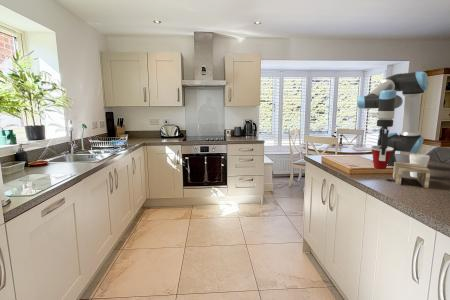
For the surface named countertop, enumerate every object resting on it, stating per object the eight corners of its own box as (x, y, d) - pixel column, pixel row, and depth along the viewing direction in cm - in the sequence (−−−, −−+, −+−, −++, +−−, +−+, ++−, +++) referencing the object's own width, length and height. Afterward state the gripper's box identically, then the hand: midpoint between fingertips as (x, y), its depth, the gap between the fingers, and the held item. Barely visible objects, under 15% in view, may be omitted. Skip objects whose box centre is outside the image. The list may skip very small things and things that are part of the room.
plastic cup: (369, 169, 136) (371, 148, 134) (368, 165, 146) (369, 145, 144) (393, 171, 132) (395, 149, 130) (389, 166, 142) (392, 146, 139)
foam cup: (426, 179, 141) (430, 157, 139) (406, 176, 146) (409, 155, 144) (426, 176, 148) (429, 155, 146) (407, 173, 154) (409, 153, 152)
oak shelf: (392, 176, 146) (394, 161, 145) (419, 179, 140) (421, 164, 139) (397, 184, 130) (399, 167, 129) (428, 187, 125) (430, 170, 123)
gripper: (375, 118, 146) (371, 155, 150) (379, 119, 126) (374, 162, 129) (390, 118, 143) (386, 156, 146) (396, 120, 122) (391, 163, 126)
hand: (381, 158), depth 138 cm, fingers closed on plastic cup, 11 cm apart
